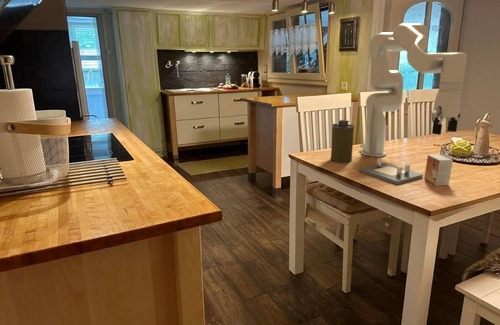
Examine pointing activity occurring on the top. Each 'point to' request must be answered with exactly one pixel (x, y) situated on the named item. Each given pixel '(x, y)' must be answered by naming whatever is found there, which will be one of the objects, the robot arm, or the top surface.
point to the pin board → (390, 173)
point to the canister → (342, 142)
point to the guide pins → (399, 169)
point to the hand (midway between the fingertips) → (444, 132)
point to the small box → (438, 169)
